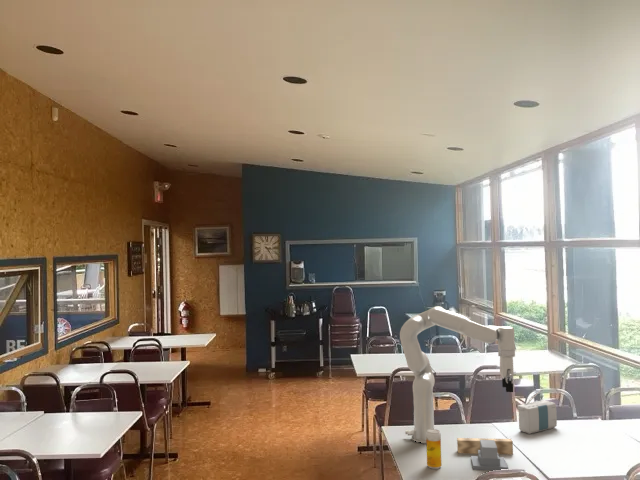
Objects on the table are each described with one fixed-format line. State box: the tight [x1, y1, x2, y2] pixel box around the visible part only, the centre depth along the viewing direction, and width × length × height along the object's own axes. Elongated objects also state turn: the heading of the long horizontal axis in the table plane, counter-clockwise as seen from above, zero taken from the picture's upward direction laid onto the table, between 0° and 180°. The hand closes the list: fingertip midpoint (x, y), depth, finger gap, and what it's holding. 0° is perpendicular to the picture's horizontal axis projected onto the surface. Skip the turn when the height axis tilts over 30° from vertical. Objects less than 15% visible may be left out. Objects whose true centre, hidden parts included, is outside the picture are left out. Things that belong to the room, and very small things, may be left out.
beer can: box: [425, 428, 442, 470], centre depth 238 cm, size 6×6×15 cm
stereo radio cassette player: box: [517, 388, 558, 435], centre depth 287 cm, size 21×8×20 cm, turn 119°
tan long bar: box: [456, 437, 514, 455], centre depth 254 cm, size 24×4×6 cm, turn 83°
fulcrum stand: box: [470, 440, 509, 471], centre depth 238 cm, size 14×12×9 cm
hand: (507, 389), depth 263 cm, fingers open, 9 cm apart
